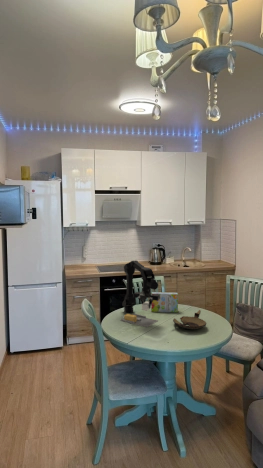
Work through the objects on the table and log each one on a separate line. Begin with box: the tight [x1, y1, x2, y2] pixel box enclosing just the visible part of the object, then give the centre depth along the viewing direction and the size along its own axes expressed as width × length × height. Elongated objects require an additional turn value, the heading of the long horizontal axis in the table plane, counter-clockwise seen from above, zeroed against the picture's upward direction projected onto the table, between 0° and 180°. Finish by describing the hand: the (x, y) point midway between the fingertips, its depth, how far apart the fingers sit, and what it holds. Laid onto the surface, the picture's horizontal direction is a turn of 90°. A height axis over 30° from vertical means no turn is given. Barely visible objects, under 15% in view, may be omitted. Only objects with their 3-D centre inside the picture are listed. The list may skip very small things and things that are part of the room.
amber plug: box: [123, 313, 137, 322], centre depth 227 cm, size 4×9×4 cm, turn 55°
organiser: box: [120, 313, 159, 328], centre depth 228 cm, size 23×16×3 cm
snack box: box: [150, 291, 179, 313], centre depth 254 cm, size 21×6×15 cm, turn 84°
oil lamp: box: [172, 309, 207, 330], centre depth 220 cm, size 22×30×8 cm
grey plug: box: [141, 300, 151, 311], centre depth 225 cm, size 4×9×4 cm, turn 156°
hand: (146, 307), depth 224 cm, fingers closed on grey plug, 4 cm apart
